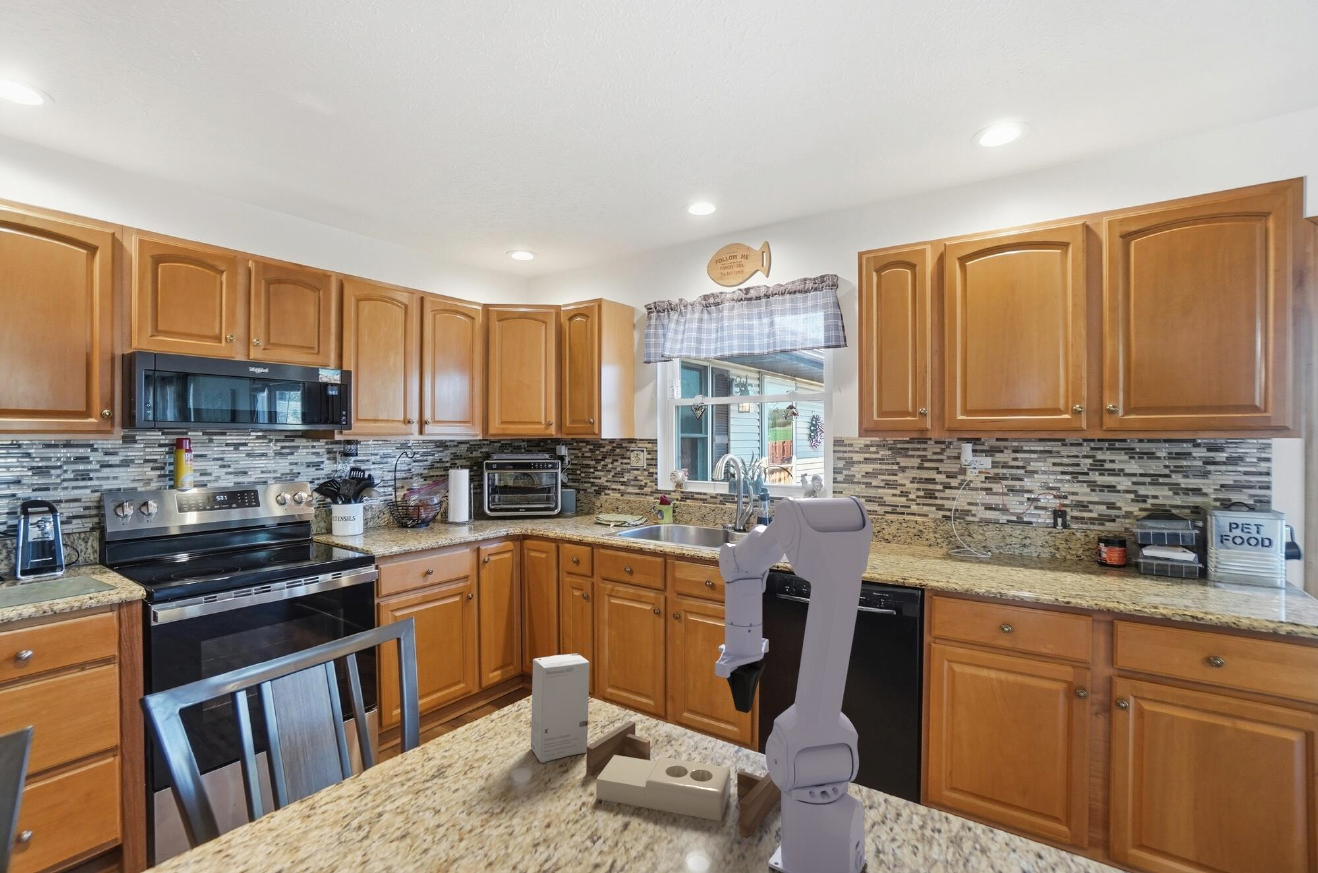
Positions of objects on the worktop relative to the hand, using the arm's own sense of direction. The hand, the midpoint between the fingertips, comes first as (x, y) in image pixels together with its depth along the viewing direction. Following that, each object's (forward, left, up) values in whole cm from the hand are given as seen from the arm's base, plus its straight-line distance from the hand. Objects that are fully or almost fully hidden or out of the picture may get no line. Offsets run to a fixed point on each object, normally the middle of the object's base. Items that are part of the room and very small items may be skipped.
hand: (743, 710), depth 95 cm
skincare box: (+28, +11, -10) cm, 32 cm away
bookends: (+6, +8, -9) cm, 14 cm away
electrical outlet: (+7, +12, -10) cm, 17 cm away
